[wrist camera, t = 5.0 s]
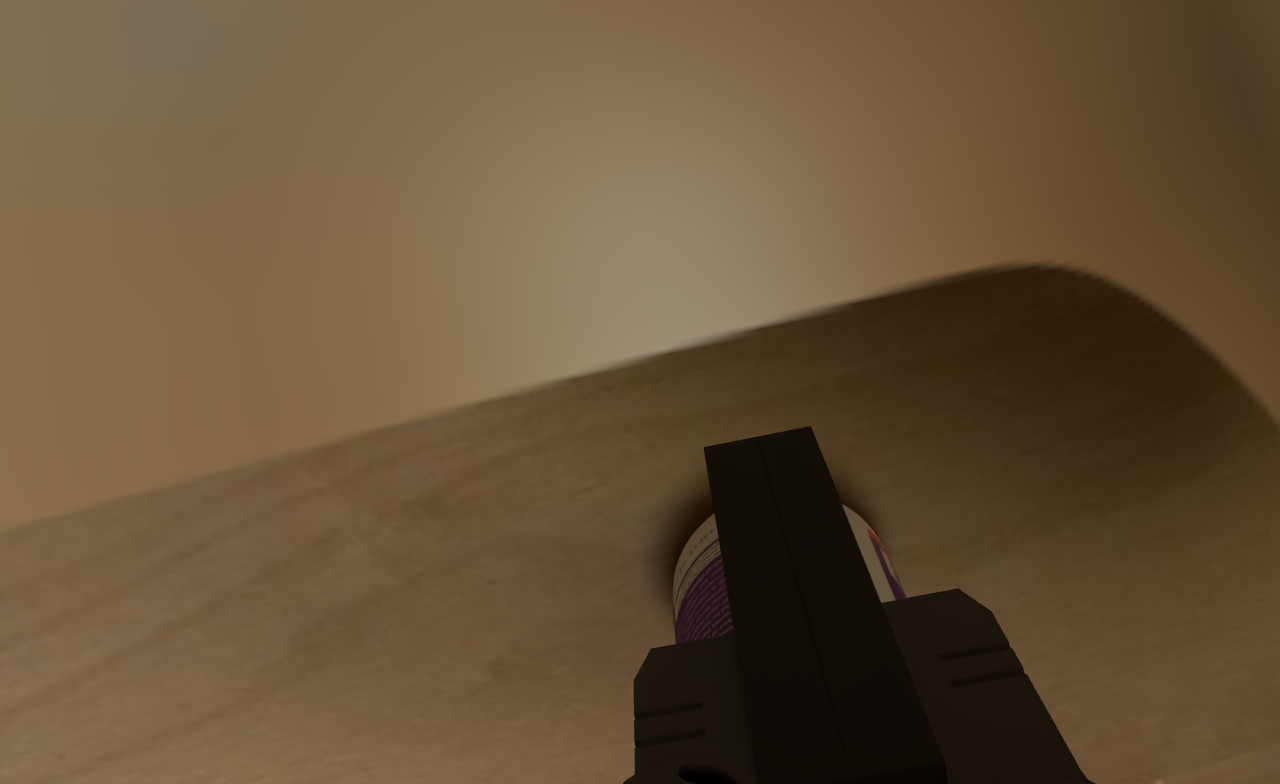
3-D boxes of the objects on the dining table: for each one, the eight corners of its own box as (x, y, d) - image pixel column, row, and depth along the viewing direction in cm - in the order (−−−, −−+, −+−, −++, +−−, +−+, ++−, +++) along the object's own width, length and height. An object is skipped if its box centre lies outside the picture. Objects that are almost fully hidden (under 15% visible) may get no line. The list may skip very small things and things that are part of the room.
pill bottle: (632, 614, 27) (630, 945, 18) (745, 446, 25) (807, 718, 16) (811, 700, 28) (896, 1054, 19) (932, 545, 26) (1088, 852, 17)
